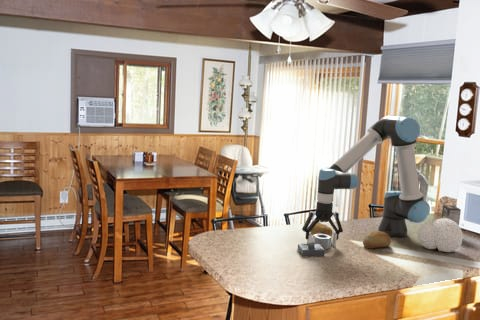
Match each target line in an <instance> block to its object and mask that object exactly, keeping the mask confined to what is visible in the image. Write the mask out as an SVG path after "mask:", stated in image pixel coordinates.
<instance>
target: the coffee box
mask: <svg viewBox="0 0 480 320" xmlns="http://www.w3.org/2000/svg"><path fill="white" fill-rule="evenodd" d="M441 209H442V210H441V218H442V219H443V218H447V219H450V220H452V221H454V222H456V223H457V224H458V225H459V226H460V220H461V213H462V212H461V210H462V209H460V208H459V207H457V206H455V205H450V204H449V205H446V204H444V205H443V204H442V208H441Z"/></svg>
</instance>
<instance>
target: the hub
mask: <svg viewBox="0 0 480 320" xmlns="http://www.w3.org/2000/svg"><path fill="white" fill-rule="evenodd" d="M314 236H315V244H320V245H321V247H322V248H323V249H324V250H329V249H330V248H332V247H331V244H332V237H330V236H329V235H326V234H314Z"/></svg>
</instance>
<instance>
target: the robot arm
mask: <svg viewBox="0 0 480 320" xmlns="http://www.w3.org/2000/svg"><path fill="white" fill-rule="evenodd" d="M366 132H367V133H366V134H364V135H363V137H361V138H360V139H359V140H357V142H356V143H355V144H354V145H352V146H351V147H350V149H348V150H346V152H345V153H344V154H342V155H341V157H339V158H338V160H336V161H335V162H334V163H332V165H331V166H330V167H324V168H321V169H319V171H318V172H319V173H318V178H317V180H318V181H317V182H318V183H317V195H316V206H315V207H316V208H315V211H311V210H309V212H308V216H307V218H306V220H305V223H304V224H303V226H302V228H301V230H302V231H303V232H304V233H305V239H306V244H308V239H309V235H311V233H310V231H311V230H312V229H313V228H314V226H315V225H316V224H317V223H318V222H319V223H320V222H329V224H330V226H331V227H332V228H333V229H332V230H334V231H333V234H332V247H334V248H336V247H337V241H338V240H339V237H340V236H339V235H340V233H343V232H344V229H343V226H342V223H341V221H340V218H339V215H340V214H339V212H337V211H335V212H333V208H334V203H333V202H334V197H335V196H334V194H335V193H334V192H335V190H354V189H356V188H357V187H358V185H359V178H358V175H357V174H356V173H350V172H348V171H350V170H351V169H352V168H353V167H354V166H356V164H357V163H359V162H360V160H362V159H363V158H364V157H365V156H367V154H368V153H369V152H370V151H371V150H373V148H375V147H376V146H377V145H378V144H381V143H383V142H384V141H385V140H388V139H389V140H390V143H391V146H392V147H393V148H394V149H395V154H396V161H397V168H398V169H397V170H398V176H399V177H398V178H399V182H400V183H399V185H400V190H388V191H385V192H384V197H383V208H382V209H383V211H382V218H381V220H380V223H379V225H378V227H377V231H382V232H385V233H387V234H389V236H390V237H394V238H395V237H396V238H403V237H407V236H408V232H409V231H408V228H407V223H406V220H408V221H409V222H412V223H416V224H418V223H422V222H424V221H425V220H426V219H427V218H428V216H429V215H430V212H431V207H430V204H429V203H428V202H427V201H426V200H425V198H424V193H422V192H421V191H420V185H419V177H418V170H417V161H416V154H415V145H416V144H417V140H418V138H419V136H420V134H421V127H420V125H419V123H418V121H417V120H416V119H414V118H413V117H409V116H403V115H402V116H401V115H386V116H384V117H382V118H380V119H378V121H376V122H375V123H374V124H372V125H371V126H370V127H369V128H368V129H367V131H366ZM313 217H315V218H314V219H313ZM333 217H334V220H335V223H336V225H337V226H336V225H335V223H334V222H333V220H332V218H333ZM312 219H313V221H312Z"/></svg>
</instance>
